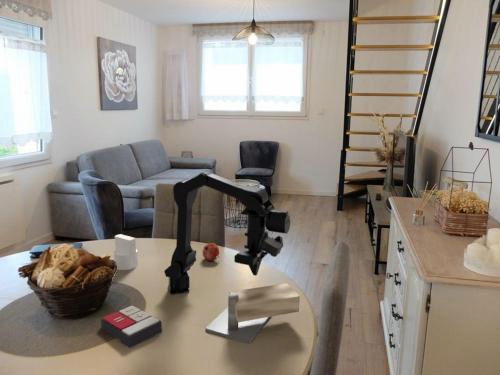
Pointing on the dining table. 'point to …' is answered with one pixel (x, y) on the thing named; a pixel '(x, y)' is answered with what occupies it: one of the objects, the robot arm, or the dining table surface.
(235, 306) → the beige wooden block
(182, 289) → the robot arm
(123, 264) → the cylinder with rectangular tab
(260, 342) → the dining table surface
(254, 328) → the label board
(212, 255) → the pomegranate
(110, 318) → the red and grey box
